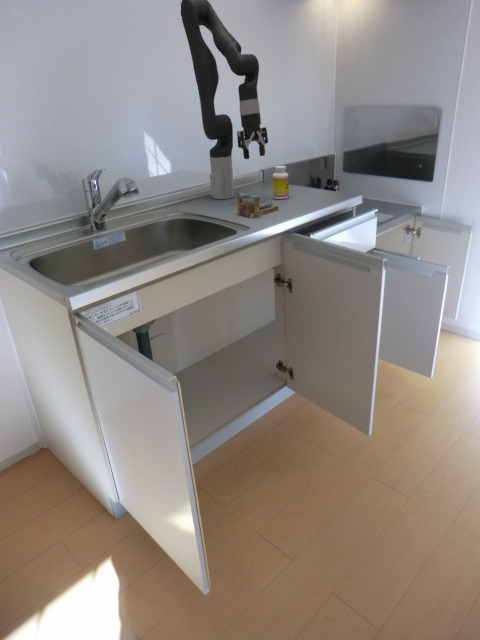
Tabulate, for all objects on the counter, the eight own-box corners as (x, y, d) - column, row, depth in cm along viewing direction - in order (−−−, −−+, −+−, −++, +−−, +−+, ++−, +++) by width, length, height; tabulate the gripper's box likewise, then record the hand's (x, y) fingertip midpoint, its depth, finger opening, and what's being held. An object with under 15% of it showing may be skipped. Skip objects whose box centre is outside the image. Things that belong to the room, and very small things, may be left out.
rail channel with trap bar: (235, 214, 184) (234, 194, 180) (261, 206, 192) (261, 187, 189) (253, 218, 177) (253, 198, 174) (280, 210, 186) (280, 190, 182)
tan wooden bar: (251, 213, 184) (250, 206, 183) (267, 209, 190) (267, 201, 188) (256, 215, 183) (256, 207, 181) (272, 210, 188) (272, 202, 187)
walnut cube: (240, 215, 182) (239, 203, 180) (248, 213, 185) (248, 201, 183) (248, 217, 179) (247, 205, 177) (257, 215, 182) (256, 202, 180)
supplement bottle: (287, 199, 201) (287, 167, 195) (271, 199, 202) (271, 168, 196) (289, 196, 206) (289, 165, 201) (274, 196, 208) (273, 165, 202)
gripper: (256, 112, 191) (260, 155, 197) (229, 115, 183) (235, 160, 189) (270, 110, 186) (274, 154, 192) (243, 113, 177) (248, 159, 184)
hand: (254, 157), depth 190 cm, fingers open, 8 cm apart
